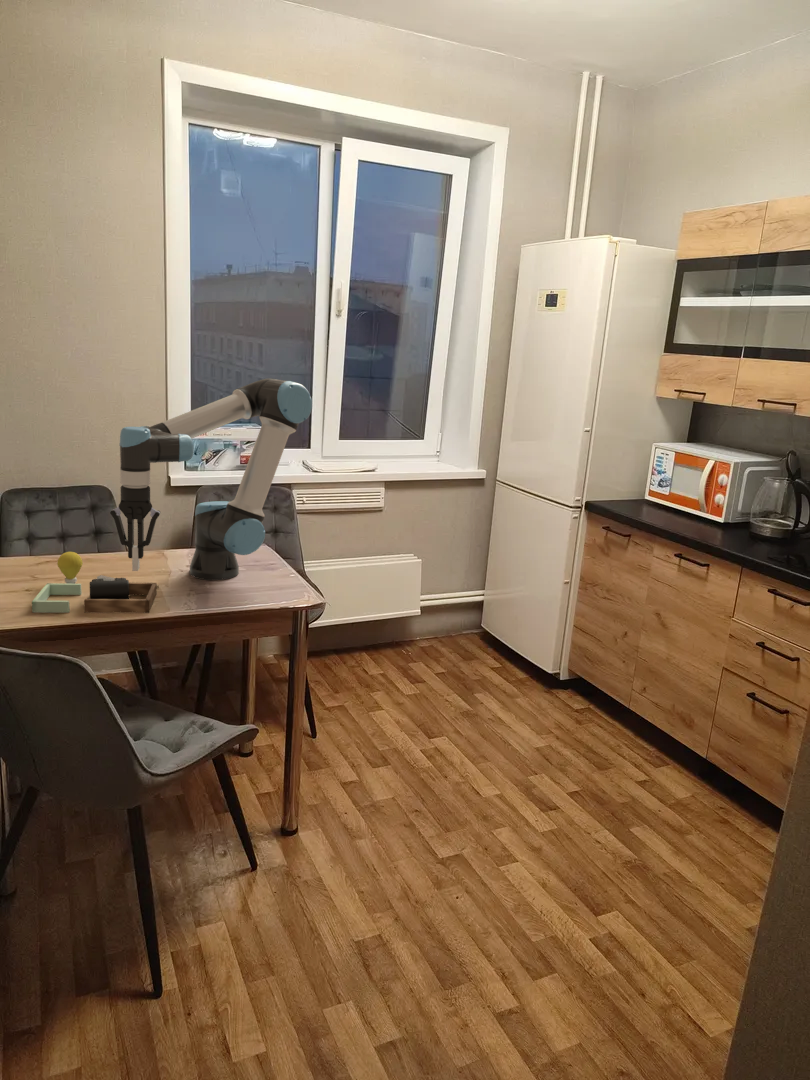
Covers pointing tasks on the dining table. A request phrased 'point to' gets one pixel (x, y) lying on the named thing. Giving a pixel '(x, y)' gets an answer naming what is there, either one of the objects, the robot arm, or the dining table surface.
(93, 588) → the end cap
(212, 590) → the dining table surface
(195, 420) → the robot arm
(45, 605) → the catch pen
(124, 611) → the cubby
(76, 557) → the light bulb
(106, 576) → the grey metal bar
